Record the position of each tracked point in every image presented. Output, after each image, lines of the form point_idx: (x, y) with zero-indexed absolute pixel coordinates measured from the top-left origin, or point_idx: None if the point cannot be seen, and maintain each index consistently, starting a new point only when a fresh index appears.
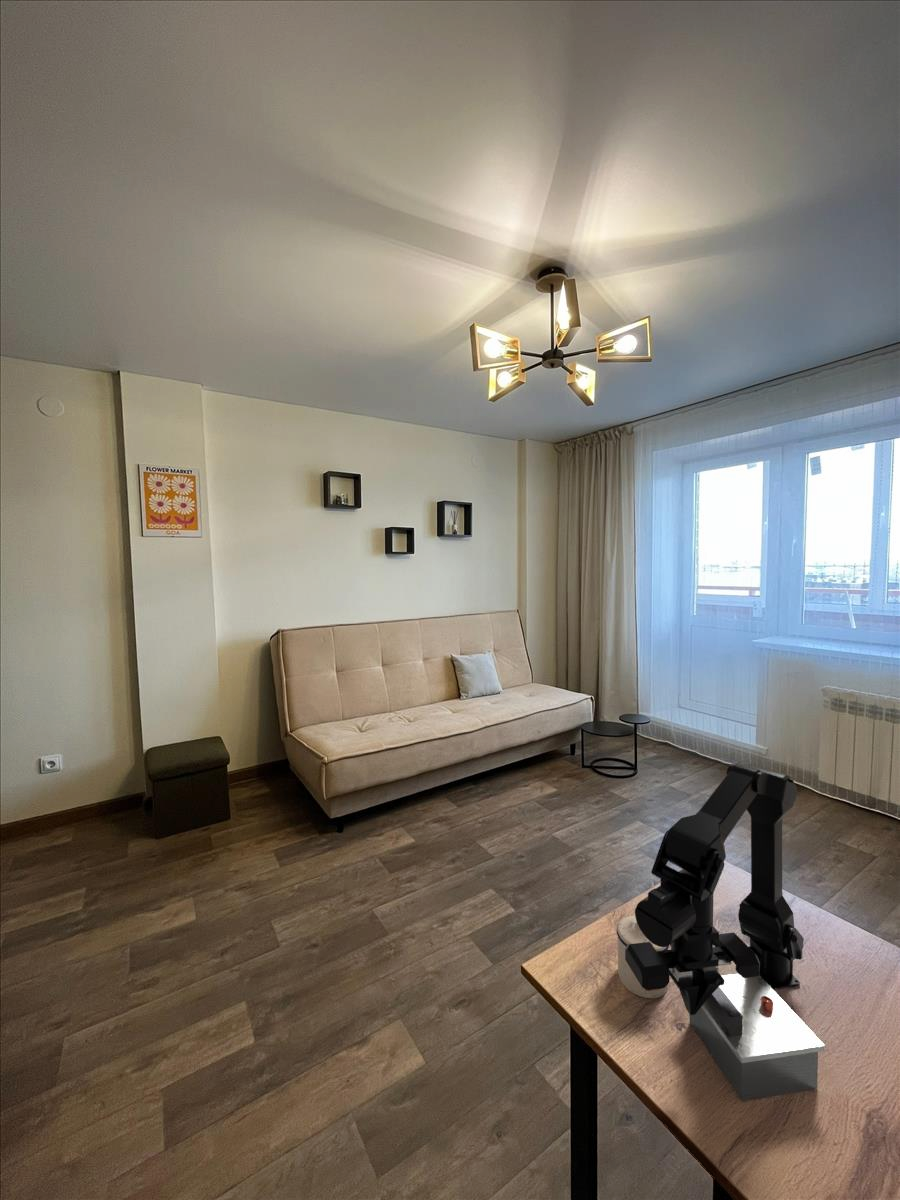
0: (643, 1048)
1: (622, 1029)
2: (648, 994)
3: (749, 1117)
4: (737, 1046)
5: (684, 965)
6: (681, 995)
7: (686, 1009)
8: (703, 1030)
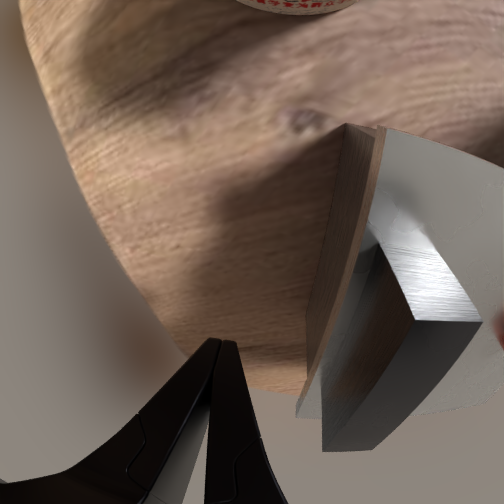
0: (147, 161)
1: (118, 100)
2: (259, 5)
3: (295, 335)
4: (314, 405)
5: None
6: (167, 382)
7: (209, 338)
8: (342, 208)
